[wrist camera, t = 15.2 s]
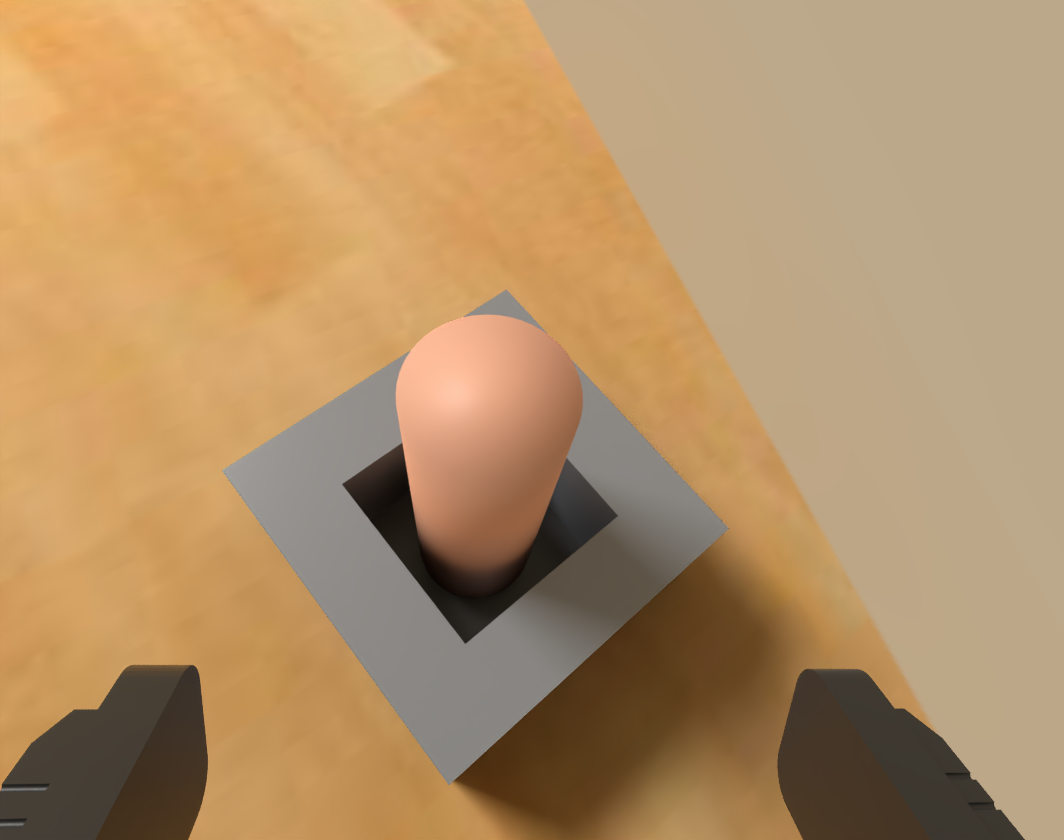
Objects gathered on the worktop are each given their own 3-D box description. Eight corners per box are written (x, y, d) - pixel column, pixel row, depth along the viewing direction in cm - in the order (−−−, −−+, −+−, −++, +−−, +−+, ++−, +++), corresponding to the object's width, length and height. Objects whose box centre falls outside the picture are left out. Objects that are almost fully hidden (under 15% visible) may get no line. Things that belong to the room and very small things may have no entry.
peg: (466, 621, 25) (476, 520, 14) (397, 534, 26) (357, 378, 15) (552, 550, 26) (620, 408, 15) (483, 470, 27) (502, 285, 16)
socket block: (446, 777, 23) (448, 785, 19) (260, 518, 26) (222, 470, 21) (680, 564, 27) (728, 528, 22) (496, 358, 30) (506, 289, 25)
